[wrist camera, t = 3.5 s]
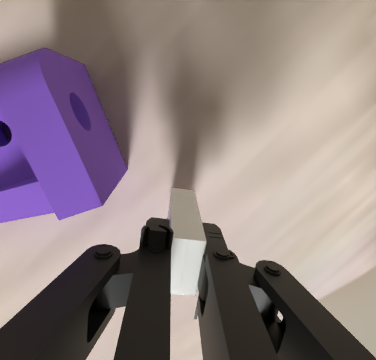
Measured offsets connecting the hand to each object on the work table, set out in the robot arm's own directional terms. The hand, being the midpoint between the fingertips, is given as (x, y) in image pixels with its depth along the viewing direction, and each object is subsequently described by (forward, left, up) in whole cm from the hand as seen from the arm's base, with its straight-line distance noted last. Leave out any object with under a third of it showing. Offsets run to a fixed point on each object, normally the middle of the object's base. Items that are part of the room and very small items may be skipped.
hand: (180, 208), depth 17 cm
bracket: (-11, +2, -2) cm, 11 cm away
